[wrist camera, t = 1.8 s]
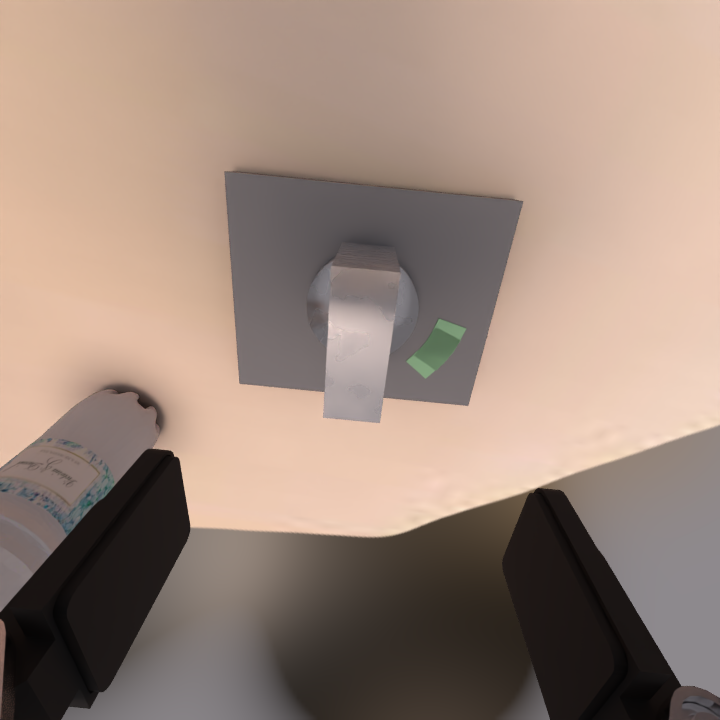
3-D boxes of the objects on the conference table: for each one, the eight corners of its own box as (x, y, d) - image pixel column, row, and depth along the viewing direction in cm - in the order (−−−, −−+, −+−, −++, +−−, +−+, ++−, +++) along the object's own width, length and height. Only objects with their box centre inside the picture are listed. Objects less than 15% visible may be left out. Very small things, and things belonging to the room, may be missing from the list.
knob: (427, 247, 22) (447, 277, 16) (402, 395, 27) (410, 462, 21) (310, 235, 22) (284, 261, 16) (306, 385, 27) (285, 450, 21)
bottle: (179, 402, 30) (-108, 739, 12) (158, 456, 33) (-101, 795, 15) (96, 365, 29) (-362, 682, 11) (82, 425, 31) (-302, 755, 14)
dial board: (233, 171, 22) (223, 171, 21) (514, 199, 22) (523, 201, 21) (245, 373, 28) (238, 384, 27) (463, 394, 29) (468, 406, 27)
